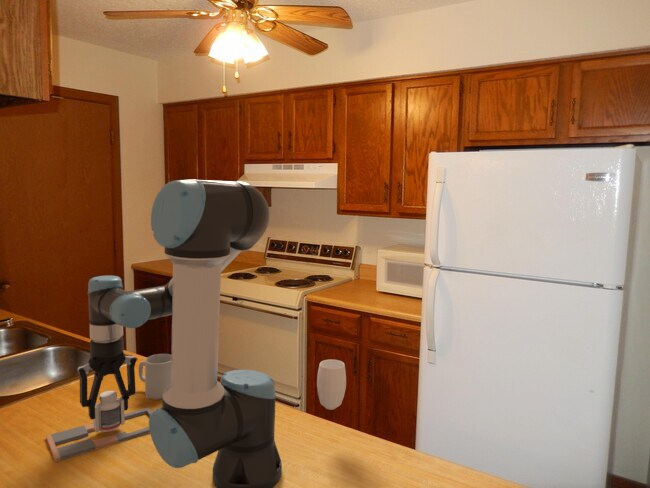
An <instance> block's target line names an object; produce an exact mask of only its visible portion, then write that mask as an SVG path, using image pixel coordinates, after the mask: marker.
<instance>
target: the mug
mask: <svg viewBox="0 0 650 488" xmlns="http://www.w3.org/2000/svg"><path fill="white" fill-rule="evenodd" d="M171 356H172V354H169V353H158V354H153V355H150V356H148V357H146V358H145V359H144V360H142V361H140V362H139V364H138V377H139V379H140V381H141V382H143V383H144V387H145V388H144V389H145V390H144V393H145V394H144V395H145V397H146V398H147V399H150V400H162V395H163V391H164V390H165V389H166V388H167V387H168V386H169V385H170V384H171Z"/></svg>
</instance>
